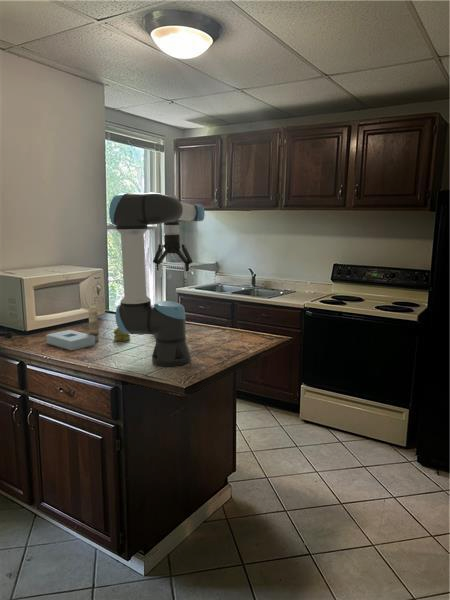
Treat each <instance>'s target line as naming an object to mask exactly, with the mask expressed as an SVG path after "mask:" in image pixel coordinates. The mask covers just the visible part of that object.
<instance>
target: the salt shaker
mask: <svg viewBox="0 0 450 600" xmlns="http://www.w3.org/2000/svg"><path fill="white" fill-rule="evenodd" d="M113 340H114V342H120V343H122V342H128V341H130V340H131V334H127V333H123V332H121V331H120V329H119V328H118V327H116V329H114V330H113Z"/></svg>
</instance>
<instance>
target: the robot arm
mask: <svg viewBox="0 0 450 600" xmlns="http://www.w3.org/2000/svg"><path fill="white" fill-rule="evenodd" d="M108 216H109V220H110V224H112V225H113V226H115V228H116V232H118V233H119V235H120V246H121V263H122V265H121V266H122V279H123V280H122V283H123V298H122V299H120V303H119V304H118V305H117V306H116V308H115V323H116V326H117V328H119V329H120V331H121V332H123V333H127V334H130V335H151V336H153V335H154V336H155V345H154V348H153V352H152V354H151V362H152V364H154V365H155V366H159V367H179V366H185V365H186V364H189V363H190V362H191V361H192V360H191V357H192V355H191V352H190V349H189V347H188V345H187V340H186V317H187V316H186V311H185V310H186V309H185V306H184V305H183V304H181V303H179V302H176V301H170V300H158V301H155V302H154V304H152V300H151V298H150V297H149V296H148V294H147V279H146V278H147V276H146V275H147V274H146V256H145V233H146V231H148V226H149V225H152V226H153V225H160V224H163V234H164V236H163V242H164V243H163V244H162V243H159V244H158V246H157V251H156V253H155V256H154V258H153V260H152V263H153V264H156V271H158V278H163V263H162V262H163V261H164V259H165V258H166V256H168V255H169V254H176V255H177V256H178V257H179V258H180V260H181V261H182V262H183V263H184V264H183V279H188V272H189V271H190V264H192V263H193V259H192V257H191V255H190V253H189V251H188V249H187V245H186V243H183V244H180V243H181V242H180V241H181V238H180V237H181V236H180V222H196V223H197V222H202V221H204V219H205V207H204V205H203V204H198V203H197V204H190V203H188V202H183V201H180V200H179V199H178V198H177V197H174V196H170V195H166V194H162V193H158V192H125V193H118V194H115V195H114V196H113V197H112V199H111V201H110V203H109V208H108ZM163 249H165V250H163ZM180 249H181V250H182V251H181V250H180ZM162 252H163V253H162ZM182 252H183V253H182Z"/></svg>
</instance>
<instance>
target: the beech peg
mask: <svg viewBox="0 0 450 600" xmlns="http://www.w3.org/2000/svg"><path fill="white" fill-rule="evenodd" d="M87 308H88V309H87V311H88V312H87V313H88V326H89V327H88V329H89V335H93V336H95V343H96V342H98V341H99V338H100V337H99V336H100V333H99V319H98V318H99V316H98V315H99V314H98V306H91V305H90V306H88V307H87Z"/></svg>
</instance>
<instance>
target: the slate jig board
mask: <svg viewBox="0 0 450 600" xmlns="http://www.w3.org/2000/svg"><path fill="white" fill-rule="evenodd" d="M46 343H47V344H48V345H52V346H55V347H58V348H61V349H62V348H63V349H67V350H69V351H75V350H78V349H82V348H86V347H87V348H88V347H91V346H95V345H96V342H95V336H93V335H90V333H89V334H88V333H84V332H80V331H77V330H72V329H67V330H62V331H57V332H53V333H48V334H46Z"/></svg>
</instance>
